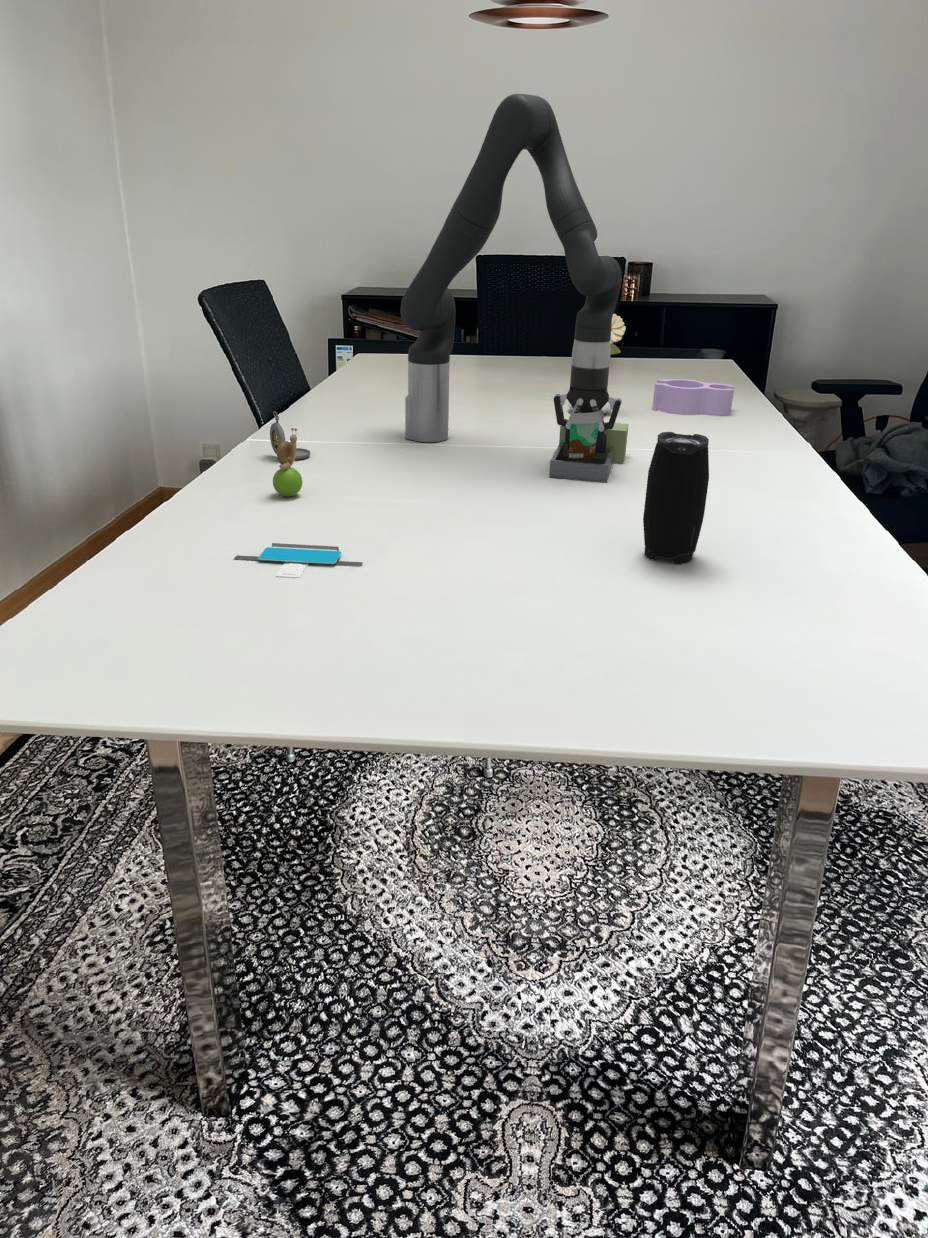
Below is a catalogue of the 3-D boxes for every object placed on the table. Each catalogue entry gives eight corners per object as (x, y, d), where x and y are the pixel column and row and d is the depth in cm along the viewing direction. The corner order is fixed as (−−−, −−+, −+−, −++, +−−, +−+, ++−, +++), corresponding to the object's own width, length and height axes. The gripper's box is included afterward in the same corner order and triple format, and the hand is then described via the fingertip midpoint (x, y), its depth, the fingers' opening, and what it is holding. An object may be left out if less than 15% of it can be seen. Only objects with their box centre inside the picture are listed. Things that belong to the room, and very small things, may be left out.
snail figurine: (310, 492, 182) (307, 429, 176) (294, 501, 176) (291, 437, 171) (285, 488, 183) (281, 426, 178) (268, 498, 178) (264, 433, 172)
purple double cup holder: (731, 409, 257) (735, 383, 254) (729, 419, 246) (733, 392, 243) (655, 402, 261) (658, 377, 258) (650, 412, 251) (653, 385, 248)
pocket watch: (316, 455, 205) (314, 408, 201) (294, 464, 198) (291, 416, 194) (284, 450, 208) (281, 403, 204) (261, 459, 201) (258, 411, 197)
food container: (598, 465, 193) (602, 415, 189) (567, 463, 194) (570, 413, 190) (602, 450, 204) (606, 402, 200) (573, 448, 205) (577, 400, 201)
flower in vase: (562, 414, 245) (569, 312, 235) (574, 405, 255) (581, 307, 244) (612, 420, 241) (621, 316, 230) (622, 411, 250) (632, 311, 240)
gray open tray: (549, 477, 194) (550, 460, 193) (559, 457, 208) (560, 441, 206) (606, 482, 192) (608, 465, 190) (612, 462, 206) (614, 446, 204)
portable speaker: (631, 548, 158) (643, 431, 150) (683, 545, 161) (698, 429, 152) (653, 567, 151) (667, 445, 143) (707, 563, 153) (724, 442, 145)
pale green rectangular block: (557, 458, 207) (560, 426, 205) (561, 450, 214) (564, 418, 211) (623, 463, 205) (626, 431, 202) (625, 455, 211) (628, 423, 208)
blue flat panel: (222, 577, 145) (221, 567, 144) (245, 549, 155) (244, 539, 155) (354, 584, 143) (353, 574, 143) (367, 556, 154) (367, 546, 153)
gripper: (552, 364, 189) (546, 448, 196) (625, 369, 186) (617, 454, 194) (557, 357, 196) (551, 440, 203) (628, 362, 193) (620, 445, 200)
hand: (583, 446), depth 198 cm, fingers closed on food container, 5 cm apart
